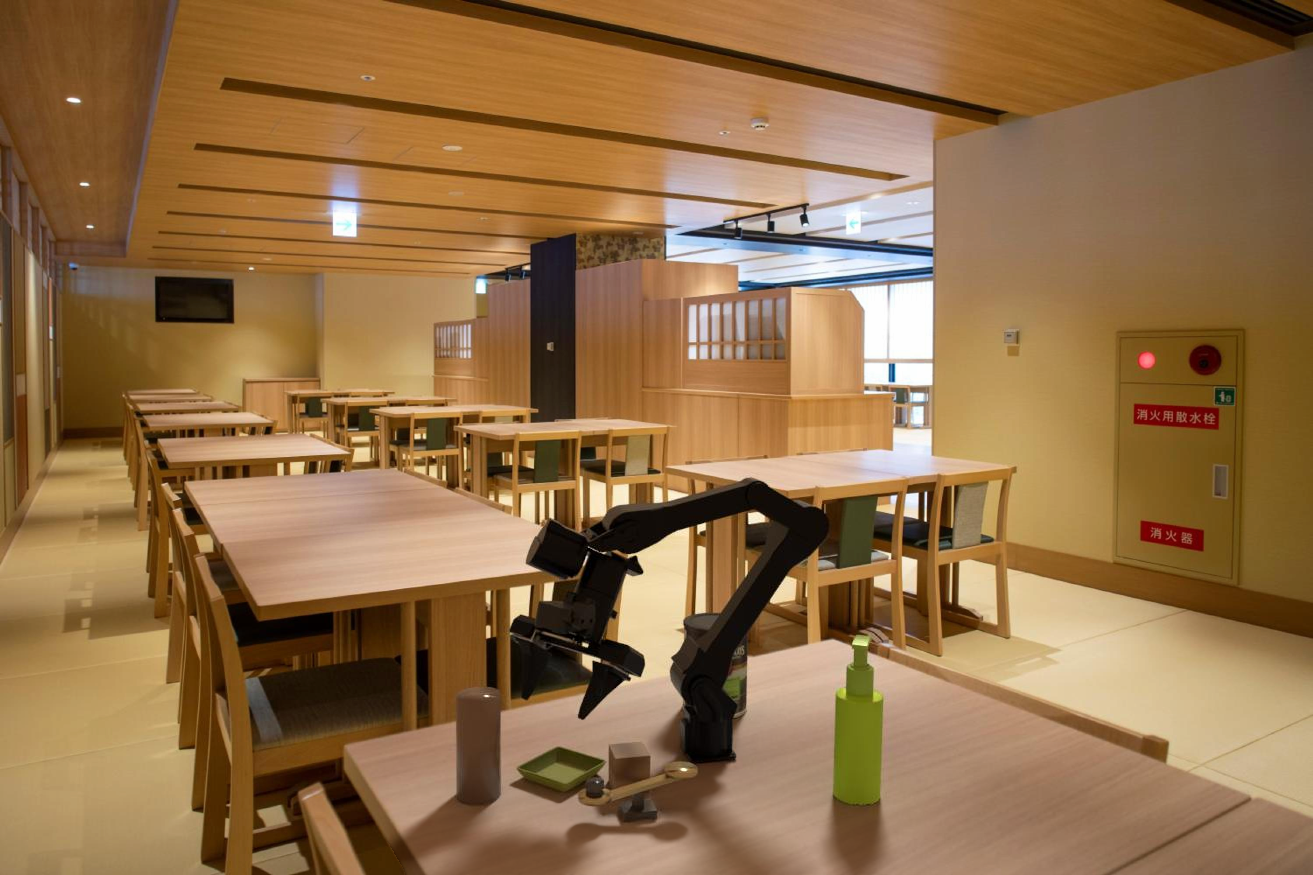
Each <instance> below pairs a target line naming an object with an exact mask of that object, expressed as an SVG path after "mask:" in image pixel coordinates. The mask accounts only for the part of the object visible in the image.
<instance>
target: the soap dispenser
mask: <svg viewBox="0 0 1313 875" xmlns="http://www.w3.org/2000/svg"><path fill="white" fill-rule="evenodd" d="M872 639H873V636H872V635H871V636H870V635H864V634H856V635H854V638H853V641H852V643H851V649H852V650H853V662H850V663H849V664H847V665H846V667H845V668H846V674H845V678H846V679H845V687H841V688H839V689H836V691H835V699H834V700H835V705H834V706H835V707H834V709H835V711H834V736H833V737H834V739H833V740H834V741H833V742H834V745H833V776H832V777H833V778H832V779H833V782H832V794H833V796H834V797H835V798H836V799H837V800H838V801H841V802H843V803H846V804H849V805H853V804H855V805H854V806H857V805H856V804H859V805H858V806H866V805H865V804H870V805H873V804H872V803H874V804H876V803H878V802H879V801H880V800H879V799H881V790H882V788H881V787H882V786H881V784H882V752H883V750H882V749H883V728H884V727H883V724H884V723H883V722H884V721H883V720H884V694H882V693H881V692H880V691H878V690H876V689H874V680H875V678H874V677H875V668H874V667H873V666H872V665H871V664H869V663H868V653H869V652H868V651H869V646H870V643H871V641H872ZM877 801H878V802H877ZM875 802H876V803H875ZM863 804H864V805H863Z"/></svg>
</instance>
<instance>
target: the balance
mask: <svg viewBox="0 0 1313 875" xmlns="http://www.w3.org/2000/svg"><path fill="white" fill-rule="evenodd" d="M697 775H698V767H697V765H695V764H694V763H693V762H688V761H682V760H681V761H680V760H679V761H673V762H668V763H667V764H666V765H665V766H664V773H663V774H660V775H656V776H653V777H650V778H649V779H646V780H643V781H640V782H636V783H633V784H630V785H627V786H623V787H620V788H617V789H614V790H612V789H611V790H609V789H607V788H605V780H604V779H603V778H601V777H594V776H593V777H591V778H589V779H587V780H586V781H585V787H584V788H583V789H581V790H580V791H579V792H578V794H577V799H578V800H577V801H578V802H579V803H580V804H581V805H584V806H587V807H601V806H605V805H608V804H609V803H610V802H613V801H616V800H619V799H622V798H626V797H629V796H631V797H632V798H631V801H629V800H628V801H620V802H619V809H618V811H619V813H620V815H621V817H622V820H623V822H624V823H628V822H638V821H646V820H657V819H658V810H657V807H656V805H655V803H654V802H653V799H652V798H650V799H645V794H644V791H645V790H649V789H650V790H652V789H655V788H658V787H661V786H663V785H664V786H665V785H668V784H671V783H674V782H677V781H680V780H690V779H692V778H695V777H696V776H697Z"/></svg>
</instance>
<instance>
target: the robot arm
mask: <svg viewBox="0 0 1313 875" xmlns="http://www.w3.org/2000/svg"><path fill="white" fill-rule="evenodd" d="M752 510H755V511H756V512H758V513H760V514H761V515H762V516H764V517H766V518H767V519H769V520H771V524H770V526H769V527H768V529H767V530H768V531H767V534H766V540H765V544H764V546H763V547H764V548H763V550H762V552H761V553H760V555H759V556H758V558H757V559H756V561H755V562H754V564H753V565H752V566H751V568H750V570H749V571H748V572H747V574H746V575H745V577H744V579H742V581H741V582H740V584H739V585H738V587H737V588H736V590H735V591H734V593H733V594H732V596H731V598H730V599H729V600H728V602H726V604H725V606H724V608H723V609H722V610H721V611H720V612H719V613H720V615H719V616H718V618H717V619H716V621H715V622H714V623H713V625H712V626H711V628H710V629H709V631H708V632H707V633H706V634H705V635H703V636H702V637H700V638H699V639H697V640H696V641H694V640H693V639H692V638H691V637H690V636H687V637H686V638H685V640H684V639H683V642H682V644H681V645H680V647H679V650H677V652H676V653H674V654H673V655H672V656H671V657H670V659H671V661H672V664H671V666H670V668H669V676H670V677H669V678H670V682H671V683H672V685H673V687H674V688H675V689H676V691H677V693H678V694H679V695H680V697H681V698H682V701H683V700H684V701H685V702H686V703H687V704H688V705H690V706H686V707H684V710H683V717H681V718H680V719H679V720H680V721H679V722H680V723H679V747H680V748H681V750H682V751H683V753H684V754H685V755H686V757H687V758H688V759H689V761H690V763H692V764H694V763H705V762H715V761H726V760H734V759H737V754H736V752H735V751H734V750H733V734H734V733H733V732H734V731H733V730H734V729H733V728H734V727H733V726H734V725H733V724H734V719H735V718H734V715H735V712H736V709H737V706H738V705H737V703H736V702H735V701H734V700H733V699H732V698H731V696H730V695H729V694H728V693H727V692H726V691H725V689H724V688H723V687H724V685H725V682H726V680H727V678H728V675H729V671H730V667H731V663H732V658H733V655H734V653H735V651H736V649H737V648H738V646H739V645H740V643H741V642H742V640H743V639H744V638H745V636H746V635H747V633H748V634H749V632H750V630H751V629H752V627H753V626H754V625H755V622H756V621H757V620H758V618H759V617H760V616H761V614H762V612H764V610H765V608H766V607H767V606H768V604H769V602H770V601H771V599H772V598H773V597H774V594H776V593H777V591H778V589H779V588H780V586H782V583H783V581H784V580H785V579H786V578H787V576H788V574H789V573H790V572H791V571H792V570H793V568H795V567H797V566H798V565H799V564H801V563H802V562H803V561H806V559H808V558H810V557H811V556H812V555H813V553H815V552H816V550H818V548H819V547H820V546H821V545H822V544H823V543H824V542H825V541H826V540H827V538H828V536H829V535H830V531H831V527H830V526H831V525H830V521H829V517H828V515H827V514H826V512H825V511H823V509H821V508H820V507H818V506H815V505H814V504H813V505H812V504H810V503H808V502H805V501H803V500H799V499H794V500H793V499H790V498H789V497H787V496H786V495H784V494H782V493H780V492H779V491H777V490H775V489H773V488H772V487H770V486H769V484H768V483H766V482H765V481H763V480H761V479H758V478H754V477H752V476H751V477H745V478H742V479H741V480H740V481H737V482H733V483H729V484H726V485H722V486H718V487H714V488H711V489H708V490H704V491H700V492H697V493H693V494H689V495H687V496H683V497H679V498H675V499H671V500H668V501H663V502H662V501H660V502H637V503H626V504H619V505H614V506H613V507H610V508H609V509H608V510H607V511H606V513H605V515H604V516H603V518H602V519H601V520H600V521H598V522H595V523H594V524H593V525H590V526H588V527H586V528H584V529H582V530H581V531H577V530H575V529H572V528H570V527H567V526H566V525H563V524H562V523H561V522H560V521H558V520H556V519H554V518H552V517H549V518H547V520H546V523H545V524H544V525H543V526H542V528H541V529H540V530H539V532H538V534H536V535H535V536H534V538H533V540H532V542H531V544H530V546H529V549H528V552H527V555H526V558H525V565H527V566H529V567H532V568H534V569H536V570H538V571H540V572H542V573H546V574H547V575H550V576H552V577H554V578H557V579H559V580H562V581H564V582H565V581H567V580H568V579H569V578H570V579H573V578H576V577H577V576H578V575H579V573H580V572H581V574H580V575H579V577H578V578H579V579H578V580H577V583H576V586H575V588H574V591H569V590H568V591H567V592H566V593H565V594H564V597H563V599H562V600H561V601H560V600H539V601H537V602H538V604H537V609H536V612H535V613H536V616H535V617H531V616H528V615H524V614H522V613H520V614H519V615H518V616H516V617H515V618H513V620H512V621H511V625H510V626H509V629H508V630H507V631H508V633H510V634H511V635H513V636H514V637H513V639H514V642H515V643H517V644H518V645H519V648H520V650H521V655H522V678H521V679H522V680H521V695H520V697H521V699H522V700H524V701H529V699H530V698H531V697H532V694H533V693H534V691H535V690H536V688H537V685H538V684H539V682H540V679H541V678H542V675H543V674H544V672H545V670H546V668H547V666H548V664H549V663H550V660H551V659H552V657H553V653H552V652H550V651H548V650H550V649H551V648H553V647H555V646H556V647H559V648H562V649H566V650H570V651H572V652H576V653H578V654H582V655H585V656H589V657H593V658H596V659H599V660H601V662H600V661H596V660H592V661H591V662H592V663H591V664H592V665H591V666H592V667H591V668H592V669H591V671H592V672H591V674H592V675H591V678H590V680H589V682H588V685H587V688H586V691H585V693H584V696H583V699H582V700H581V703H580V706H579V710H578V714H577V718H578V719H579V720H581V721H585V719H586V718H587V717H588V716H589V715H590V714H591V713H592V712H593V711H594V710H595V709H596V708H597V706H599V705H600V704H601V703H602V702H603V700H605V699H606V697H607V696H608V695H610V694H611V693H612V692H613V691H614V690H615V689H617V688H618V687H619V686H620V685H621V684H622V683H624V682H631V679H632V677H631V676H633V677H636V678H642V675H643V672H644V669H645V668H646V667H645V666H646V660H645V659H646V658H645V656H644V654H642V653H641V652H640V651H638V650H636V649H635V648H634V647H632V646H630V645H629V644H626V643H622V642H619V641H615V640H612V639H609V638H606V639H603V638H604V635H605V632H606V629H607V628H608V624H609V622H610V620H614V621H615V620H616V618H617V616H618V614H619V613H618V611H616V610H615V609H614V608H615V606H616V603H617V601H618V598H619V595H620V592H621V589H622V588H623V585H624V582H625V579H626V577H627V575H628V576H630V577H637V576H642V575H644V572H645V571H644V569H643V567H642V565H641V564H640V561H639V559H638V558H639V556H637V555H635V554H637V553H639V552H642V551H643V550H646V549H648V548H650V547H652V546H654V545H656V544H658V543H659V542H661V541H663V540H664V539H665V538H667V537H668V536H670V535H672V534H674V533H676V532H678V531H681V530H685V529H690V528H692V527H695V526H698V525H703V524H706V523H710V522H713V521H717V520H721V519H724V518H729V517H731V516H735V515H738V514H742V513H745V512H748V511H752ZM614 551H617V552H619V553H621V554H619V553H617V552H614ZM622 554H624V555H632V556H629V557H626V556H623V555H622ZM582 644H586V645H587V646H583V645H582Z"/></svg>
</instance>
